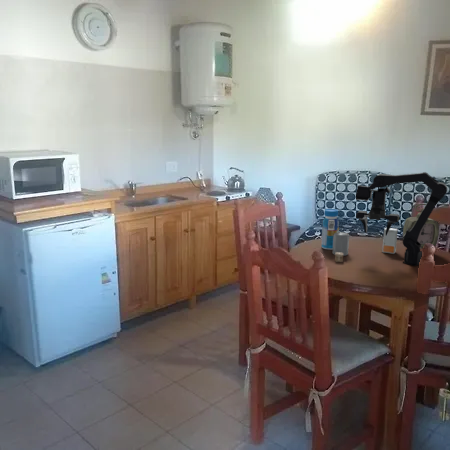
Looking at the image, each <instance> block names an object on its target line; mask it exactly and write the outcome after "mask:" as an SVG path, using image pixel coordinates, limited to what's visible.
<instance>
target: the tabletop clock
mask: <svg viewBox="0 0 450 450" xmlns="http://www.w3.org/2000/svg"><path fill="white" fill-rule="evenodd" d="M426 204H427V203H419V204H417V205H415V208H414V209H415V211H416V212H418V213H417V214H416V215H415V216H412V217H411V216H410V217H407V218H406V219H405V221H404V224H403V229H402V236H403V235H404V234H405V233H406V231H407V229H408V228H409V229H410V230H411V228H412V227H413V226H414V225H415V223H416V221H417V219H418V218H419V216H420V214H421V212H422V211H423V209H424V208H422V209H420V210H419V209H417V208H418V207H419V206H426ZM439 231H440V225H439V221H436V220H434V219H432V218H430V217H429V218H428V219H427V221H426V223H425V224H424V226H423V228H422V230H421V231H420V234H419V237H418V240H417V241H418V242H419V243H420V244H421V249H420V250H422V249H423V246H424V244H425V243H431V244H433V245H434V246H435V247H436V246H437V244H438V240H439V233H440V232H439ZM403 239H404V238H403V237H402V240H403Z"/></svg>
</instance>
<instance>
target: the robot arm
mask: <svg viewBox="0 0 450 450" xmlns="http://www.w3.org/2000/svg"><path fill="white" fill-rule="evenodd" d="M420 182H421V183H423V184H425V186H427V188H429V189H430V190H431V193H430V195H429V197H428V201H427V202H426V203H425V204H426V205H424V208H422V209H423V211H422V212H420V213H421V214H420V216H419V218H418V219H417V221H416V223H415V225H414V226H413V227H412V228H411V230H410V229H409V228H408V229H407V231H406V233H405V234H404V235H403V234H402V245H403V246H404V248H405V251H404V254H403V255H404V257H403V261H402V263H403V264H406V265H410V266H412V267H416V266H419V262H420V259H421V260H422V255H423V251H421V250H422V249H421V244H420V243H419V242H418V241H417V240H418V237H419V234H420V231H421V230H422V228H423V226H424V224H425V223H426V221H427V219H428V218H430V215H431V214H432V213H433V210H434V209H435V208H436V207H437V205H438V203H439V202H440V201H441V200H442V199H443V198H444V197H445V196H446V194H447V192H448V186H447V184H446V183H445V182H442V181H441V182H440V181H438V180H437V179H436V178H434V177H433V176H431V175H430V174H429V173H428V172H426V171H424V172H418V173H407V174H386V173H379V174H377V175H375V176H374V178H373V181H372V183H371V184H370V185H369V186H366V185H360V184H359V185H357V188H356V192H355V200H357V201H366V202H369V200H370V199H371V208H370V210H369V212H368V211H366V210H358V211H357V212H356V214H355V219H358V221H360V222H361V223H362V225H363V229H364V233H365V234H367V233H368V219H369V220H375V221H380V220H381V219H384V220H387V223H386V228H387V229H386V236H387V234H388V231H389V229H390V228H392V225H393V224H395V223H398V222H399V221H400V214H398V213H390V214H386V209H385V208H386V197H387V195H386V194H387V193H388V194H389V193H390V192H391V191H392V190H390V189H389V187H388V186H392V185H395V184H396V185H398V184H407V183H408V184H409V183H420ZM384 187H385V188H384ZM377 188H378V189H377ZM403 238H404V239H403Z"/></svg>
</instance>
